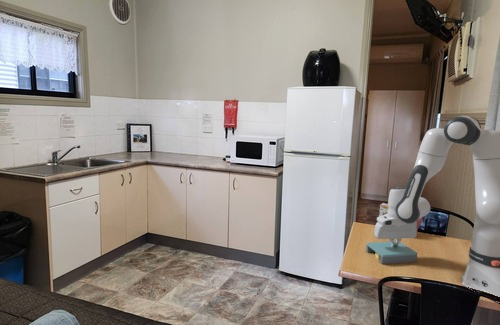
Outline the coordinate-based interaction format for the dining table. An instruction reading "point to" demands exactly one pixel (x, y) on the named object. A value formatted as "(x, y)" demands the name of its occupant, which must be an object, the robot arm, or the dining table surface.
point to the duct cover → (391, 249)
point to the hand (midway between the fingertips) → (394, 246)
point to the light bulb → (418, 223)
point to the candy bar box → (383, 209)
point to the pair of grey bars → (394, 258)
